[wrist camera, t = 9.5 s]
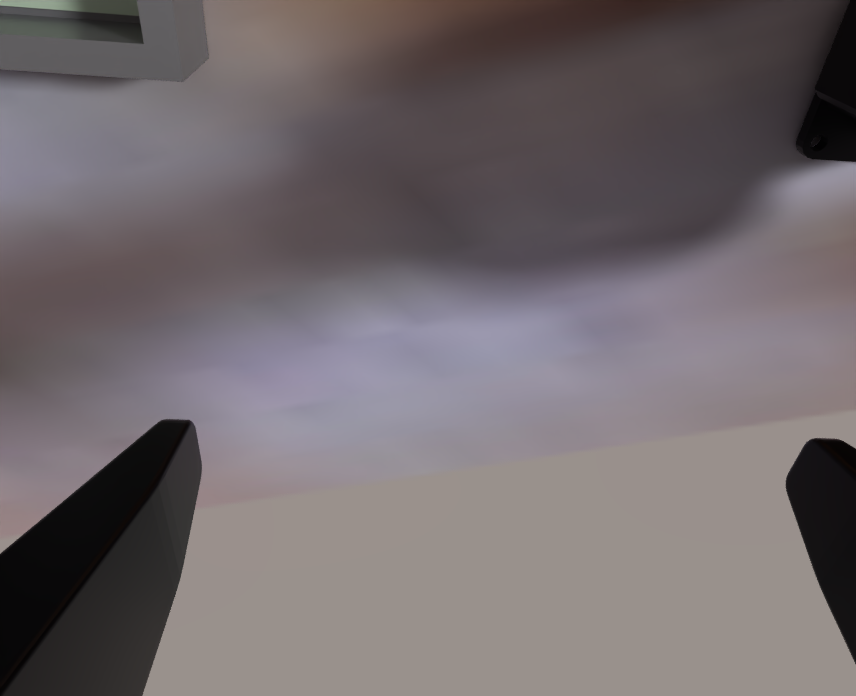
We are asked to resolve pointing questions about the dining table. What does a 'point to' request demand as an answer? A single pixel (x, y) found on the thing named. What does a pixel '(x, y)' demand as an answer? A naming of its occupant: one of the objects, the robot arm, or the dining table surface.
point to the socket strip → (104, 37)
